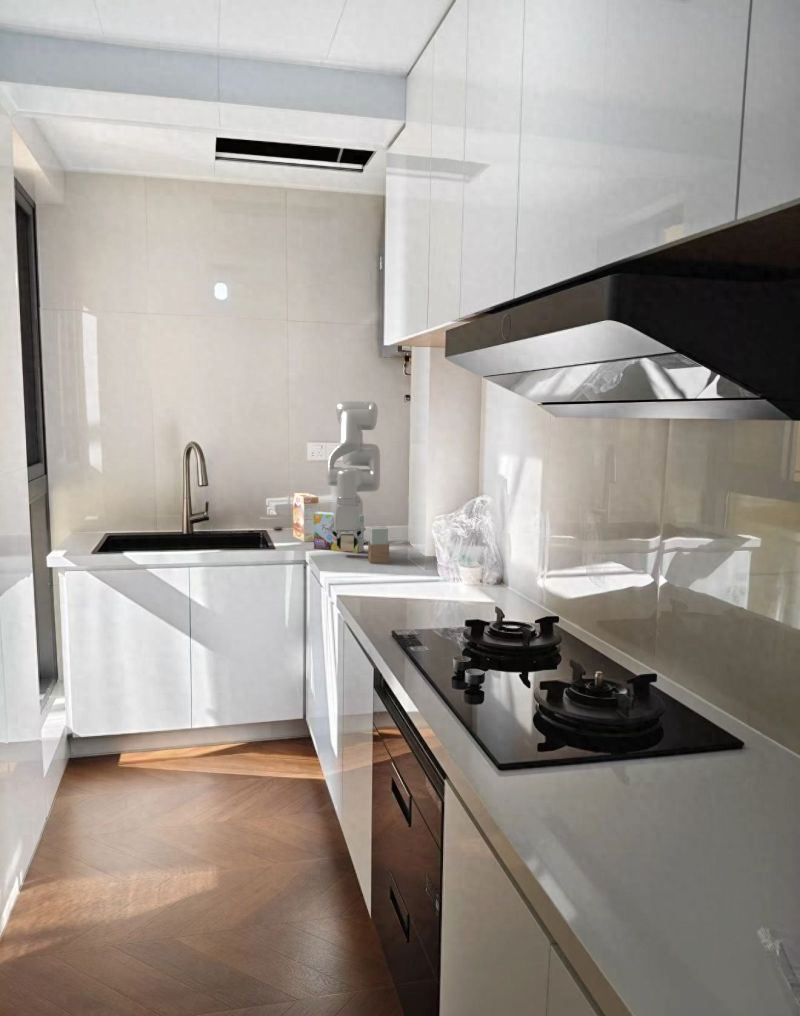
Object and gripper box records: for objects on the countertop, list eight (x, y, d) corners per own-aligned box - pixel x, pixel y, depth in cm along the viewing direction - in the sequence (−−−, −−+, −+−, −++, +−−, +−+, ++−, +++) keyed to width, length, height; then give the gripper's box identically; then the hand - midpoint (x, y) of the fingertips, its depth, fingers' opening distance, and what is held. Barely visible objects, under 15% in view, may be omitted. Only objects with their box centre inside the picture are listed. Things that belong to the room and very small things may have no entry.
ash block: (339, 548, 329) (339, 533, 328) (352, 548, 329) (352, 533, 328) (340, 551, 324) (340, 535, 323) (353, 550, 324) (353, 535, 324)
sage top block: (369, 542, 318) (370, 526, 317) (385, 542, 319) (385, 526, 318) (371, 544, 312) (371, 529, 311) (387, 544, 313) (387, 528, 312)
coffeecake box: (292, 536, 371) (292, 493, 369) (307, 536, 374) (307, 492, 372) (303, 542, 358) (303, 496, 355) (319, 541, 361) (319, 496, 358)
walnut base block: (368, 560, 319) (368, 542, 318) (386, 559, 320) (386, 541, 319) (370, 563, 312) (370, 545, 311) (388, 563, 313) (389, 544, 312)
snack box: (312, 548, 342) (312, 512, 340) (320, 546, 347) (320, 510, 345) (357, 553, 332) (357, 516, 330) (364, 551, 337) (364, 514, 335)
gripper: (367, 500, 329) (367, 545, 331) (324, 500, 326) (324, 546, 329) (369, 502, 321) (369, 549, 324) (325, 503, 319) (325, 550, 321)
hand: (346, 547), depth 326 cm, fingers closed on ash block, 4 cm apart
